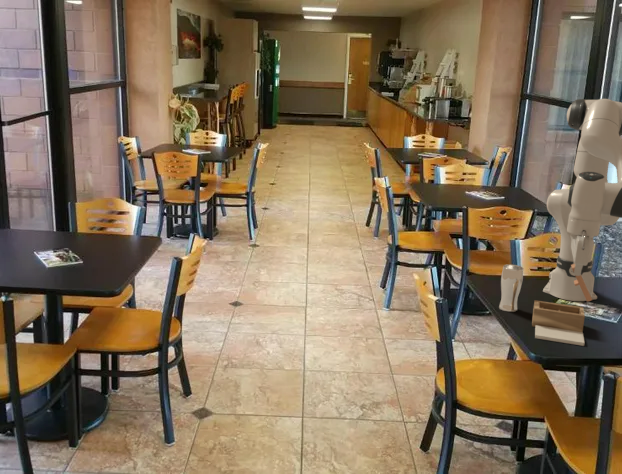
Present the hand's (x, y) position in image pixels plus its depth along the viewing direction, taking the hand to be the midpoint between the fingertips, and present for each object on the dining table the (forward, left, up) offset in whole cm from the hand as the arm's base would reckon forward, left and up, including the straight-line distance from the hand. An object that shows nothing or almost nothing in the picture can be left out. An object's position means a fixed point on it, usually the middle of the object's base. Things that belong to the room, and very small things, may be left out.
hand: (576, 272), depth 196 cm
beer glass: (-20, -18, -21) cm, 34 cm away
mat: (0, -2, -21) cm, 21 cm away
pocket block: (-10, -3, -21) cm, 24 cm away
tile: (0, +1, -3) cm, 3 cm away
